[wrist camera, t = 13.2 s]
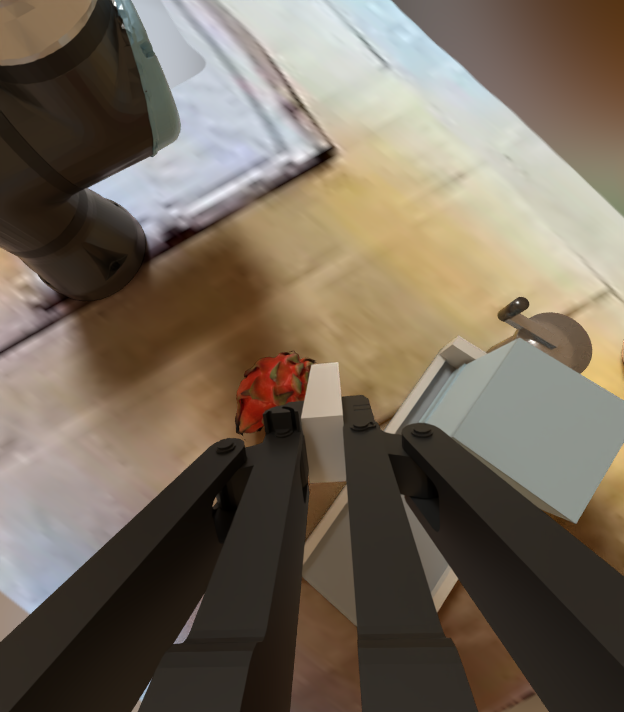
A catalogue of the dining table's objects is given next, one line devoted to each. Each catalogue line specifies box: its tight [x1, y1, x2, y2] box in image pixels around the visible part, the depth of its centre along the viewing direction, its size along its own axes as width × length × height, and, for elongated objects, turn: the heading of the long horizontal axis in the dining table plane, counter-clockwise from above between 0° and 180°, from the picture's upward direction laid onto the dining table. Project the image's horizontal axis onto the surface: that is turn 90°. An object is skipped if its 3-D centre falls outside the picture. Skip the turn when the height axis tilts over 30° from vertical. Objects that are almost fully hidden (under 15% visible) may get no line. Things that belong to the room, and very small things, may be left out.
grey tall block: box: [418, 338, 624, 524], centre depth 29 cm, size 9×9×14 cm
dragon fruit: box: [235, 351, 316, 440], centre depth 36 cm, size 8×8×12 cm
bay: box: [302, 335, 487, 627], centre depth 32 cm, size 30×14×6 cm, turn 143°
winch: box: [486, 297, 592, 374], centre depth 32 cm, size 6×9×12 cm
